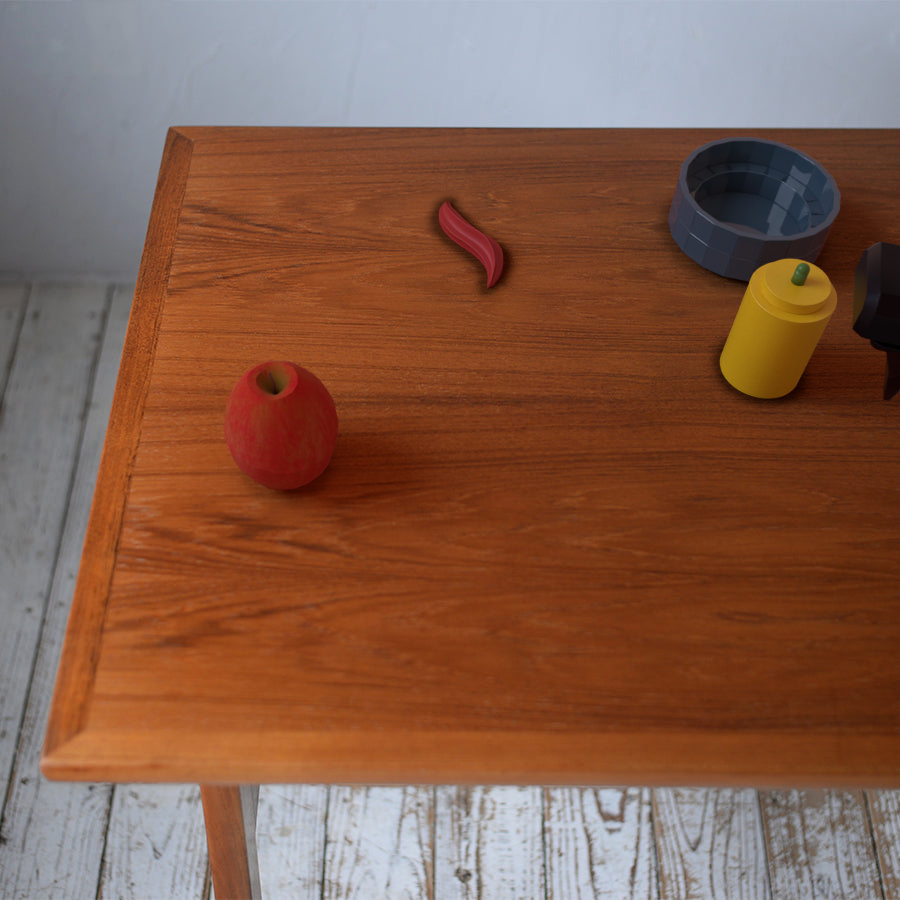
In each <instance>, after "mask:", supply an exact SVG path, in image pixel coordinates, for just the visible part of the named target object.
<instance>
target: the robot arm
mask: <svg viewBox="0 0 900 900" xmlns="http://www.w3.org/2000/svg"><path fill="white" fill-rule="evenodd" d="M853 273H854V275H853V296H852V297H853V298H852V299H853V300H852V317H851V319H852V320H851V321H852V322H851V330H853V332H854V333H856V334H857V335H858V336H859V337H860V338H861V339H865V340H868V341H869V344H870V346H871V347H872V348H873V349H875V350H876V351H880V352H884V353H885V355H886V356H885V357H886V358H885V361H886V362H885V368H884V375H883V386H882V400H883V401H885V402H886V401H887V402H890V401H891V400H893V398H894V397H895V396H897V395H898V394H899V392H900V244H895V243H890V242H885V241H879V242H876V243H874V244H872V245H870V246H869V247H867V248H866V249H864V251H863V253H862V255H861V257H860V258H859V261H858V262H857V264H856V267H855V268H854V272H853Z"/></svg>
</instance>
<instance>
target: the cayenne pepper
mask: <svg viewBox="0 0 900 900" xmlns="http://www.w3.org/2000/svg"><path fill="white" fill-rule="evenodd" d="M438 221H439V225H440V227H441V229H442V230H443V232H444V233H445V234H446V235H447V236H448V238H449V239H451V240H452V241H453V242H454V243H456V244H457V245H459V246H460V248H461V247H462V248H463V249H464V250H466V251H467V252H468V253H470V254H471V255H473V256H474V257H475V258H476V259H477V260H479V262H480V263H481V264H482V265H483V266H484V268H485V270H486V273H487V284H486V286H487V289H490V288H491V287H493V286H495V284H496V283H497V282H498V281H499V279H500V277H501V275H502V273H503V270H504V253H503V249H502V247H501V245H500V243H498V241H496V240H495V239H494V238H493V237H491V236H489V235H487V234H485V233H483V232H482V231H480V230H479V229H476V227H474V226H473V225H472V224H471V223H469V222H468V221H467V220H466V219H464V217H463V216H462V215H461V214H460V213H459V212H457V210H456V209H455V208H454V207H453V206H452V205H451V202H450V201H449V200H446V201H445V202H444V203H442V205H441V206H440V208H439V210H438Z"/></svg>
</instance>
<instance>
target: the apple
mask: <svg viewBox="0 0 900 900" xmlns="http://www.w3.org/2000/svg"><path fill="white" fill-rule="evenodd" d="M339 424H340V423H339V418H338V413H337V409H336V403H335V400H334V398H333V396H332V395H331V393H330V392H329V390H328V388H327V386H326V385H325V384H324V383H323V382H322V381H321V379H320V378H318V377H317V375H315V374H314V373H313V372H312V371H309V369H306V368H305V367H303V366H301V365H299V364H296V363H295V362H291V361H290V360H271V359H269V360H267V361H264V362H261V363H259V364H257V365H255V366H254V367H252V368H251V369H249V370H248V371H246V372H245V373H243V375H242V376H241V377H240V378H239V379H238V381H236V383H235V385H234V387H233V388H232V390H231V391H230V394H229V396H228V398H227V399H226V405H225V413H224V420H223V428H222V429H223V433H224V434H223V435H224V438H225V439H224V440H225V443H226V445H227V447H228V450H229V452H230V455H231V457H232V460H233V461H234V462H235V464H236V465H237V466H238V468H239V470H241V471H242V472H243V473H244V474H246V475H247V476H248V477H250V478H251V479H252V480H253V481H254V482H255V483H257V484H258V485H260V486H263V487H265V488H266V489H270V490H279V491H283V490H295V489H298V488H300V487H303V486H306V485H308V484H310V483H311V482H312V481H314V480H316V479H317V478H318V477H319V476H321V475H322V474H323V473H324V471H325V470H326V469H327V467H328V466H329V465H330V462H331V460H332V458H333V454H334V452H335V449H336V445H337V440H338V436H339V435H338V433H339Z"/></svg>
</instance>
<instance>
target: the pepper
mask: <svg viewBox="0 0 900 900" xmlns="http://www.w3.org/2000/svg"><path fill="white" fill-rule="evenodd" d="M837 304H838V294H837V290H836V289H835V286H834V285H833V283H832V282H831V280H830V279H829V277H828V275H827V274H826V273H825V272H824V271H823V270H822V269H821V268H820V267H818V266H817V265H815V264H811V263H809V262H806V261H803V260H799V259H782V260H778V261H775V262H772V263H768V264H766V265H763V266H762V267H760V268H759V269H757V270H756V271H755V272H754V273H753V275H752V277H751V279H750V281H749V282H748V285H747V287H746V289H745V292H744V295H743V297H742V300H741V303H740V304H739V308H738V310H737V313H736V315H735V318H734V321H733V323H732V326H731V329H730V331H729V334H728V336H727V339H726V341H725V344H724V346H723V349H722V352H721V354H720V358H719V367H720V371H721V373H722V375H723V377H724V378H725V380H726V381H727V382H728V384H730V385H731V386H732V387H733V388H734V389H736V390H737V391H739V392H741V393H743V394H745V395H747V396H750V397H754V398H758V399H769V400H770V399H778V398H781V397H784V396H786V395H788V394H789V393H791V392H792V391H794V389H795V388H796V387H797V385H798V383H799V382H800V379H801V378H802V375H803V373H804V372H805V370H806V367H807V366H808V363H809V361H810V359H811V357H812V355H813V354H814V351H815V349H816V347H817V345H818V344H819V342H820V339H821V337H822V335H823V334H824V331H825V330H826V328H827V325H828V323H829V322H830V320H831V318H832V315H833V314H834V312H835V310H836V308H837Z"/></svg>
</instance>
